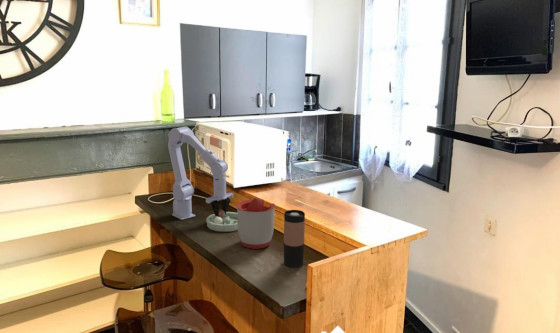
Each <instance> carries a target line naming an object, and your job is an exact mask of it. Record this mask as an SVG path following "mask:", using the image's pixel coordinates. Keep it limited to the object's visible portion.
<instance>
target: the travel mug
mask: <svg viewBox="0 0 560 333" xmlns="http://www.w3.org/2000/svg"><path fill="white" fill-rule="evenodd" d="M283 218H284V219H283V264H284V266H285V267H287V268H290V269H298V268H300V267H302V266H303V265H304V254H305V252H304V251H305V233H306V232H305V225H306V224H305V223H306V221H305V220H306V213H305V212H304V211H303V210H299V209H287V210H285V211H284V216H283Z"/></svg>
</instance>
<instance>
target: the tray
mask: <svg viewBox="0 0 560 333" xmlns="http://www.w3.org/2000/svg"><path fill="white" fill-rule="evenodd" d="M216 217H218V216H216V215H215V214H214V213H213V214H210V215H209V216H207V217H206V227H207V228H208V229H209V230H211V231H214V232H222V233H227V232H228V233H229V232H235V231H238V217H237V212H234V211H226V214H225V215H224V216H223V217H222V218H221V219H222V224H215V223H214V219H215V218H216Z"/></svg>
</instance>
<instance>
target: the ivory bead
mask: <svg viewBox="0 0 560 333" xmlns="http://www.w3.org/2000/svg"><path fill="white" fill-rule="evenodd" d="M214 223H215V224H222V219H221V218H220V217H216V218H215V219H214Z"/></svg>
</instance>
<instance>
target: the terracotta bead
mask: <svg viewBox="0 0 560 333" xmlns="http://www.w3.org/2000/svg"><path fill="white" fill-rule="evenodd" d="M224 215H225V212H224V210H222V208H219V216H218V217H220V218H222V217H223V216H224Z"/></svg>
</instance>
